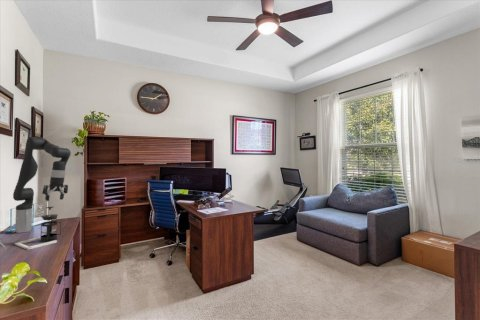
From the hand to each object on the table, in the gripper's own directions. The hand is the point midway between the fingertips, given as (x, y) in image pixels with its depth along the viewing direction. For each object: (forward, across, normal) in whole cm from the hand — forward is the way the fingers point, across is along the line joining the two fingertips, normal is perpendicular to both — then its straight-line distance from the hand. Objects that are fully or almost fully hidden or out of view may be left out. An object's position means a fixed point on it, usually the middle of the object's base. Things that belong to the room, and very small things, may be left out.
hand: (54, 200), depth 158 cm
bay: (+29, +6, -3) cm, 29 cm away
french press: (+28, -2, -2) cm, 29 cm away
